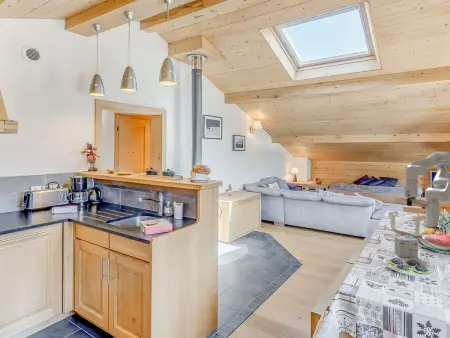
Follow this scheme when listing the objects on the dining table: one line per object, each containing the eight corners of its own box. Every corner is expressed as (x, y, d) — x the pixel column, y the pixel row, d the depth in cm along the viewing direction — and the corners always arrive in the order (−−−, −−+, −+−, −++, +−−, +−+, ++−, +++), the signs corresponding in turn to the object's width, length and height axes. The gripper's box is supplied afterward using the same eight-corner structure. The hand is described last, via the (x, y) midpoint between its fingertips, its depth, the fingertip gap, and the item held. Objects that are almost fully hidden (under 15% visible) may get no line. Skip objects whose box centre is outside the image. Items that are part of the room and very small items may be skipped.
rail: (396, 201, 236) (396, 196, 236) (429, 206, 215) (429, 201, 215) (393, 202, 234) (394, 197, 234) (426, 207, 213) (426, 201, 213)
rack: (392, 228, 234) (392, 210, 233) (423, 235, 214) (424, 216, 213) (386, 229, 230) (387, 211, 229) (418, 237, 210) (418, 217, 209)
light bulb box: (412, 253, 178) (412, 236, 177) (418, 257, 171) (418, 240, 170) (393, 253, 179) (394, 236, 178) (399, 257, 172) (399, 239, 172)
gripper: (412, 180, 231) (411, 203, 232) (400, 182, 222) (399, 205, 224) (423, 181, 224) (421, 205, 225) (411, 182, 216) (409, 207, 217)
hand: (410, 205), depth 225 cm, fingers closed on rail, 4 cm apart
